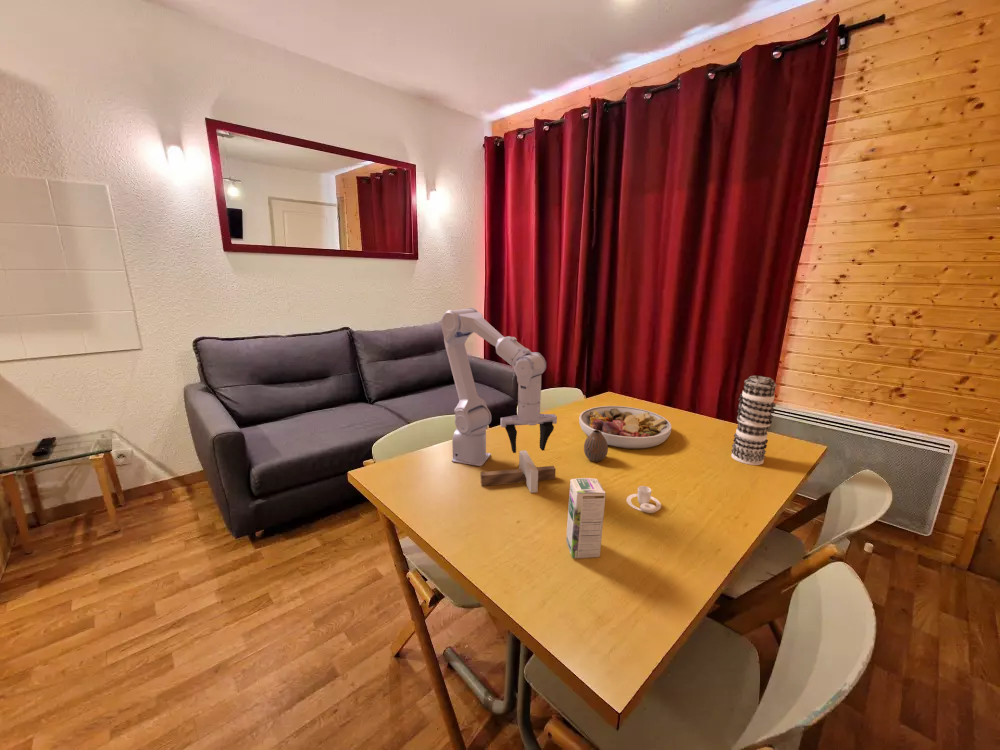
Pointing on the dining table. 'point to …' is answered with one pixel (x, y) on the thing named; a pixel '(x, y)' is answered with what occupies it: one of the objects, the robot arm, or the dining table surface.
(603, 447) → the vase
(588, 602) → the dining table surface
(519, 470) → the walnut rail
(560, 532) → the dining table surface
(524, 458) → the notched white slab
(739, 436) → the decorative candle
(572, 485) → the syrup box
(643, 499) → the teacup and saucer
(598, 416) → the bowl
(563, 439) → the dining table surface
